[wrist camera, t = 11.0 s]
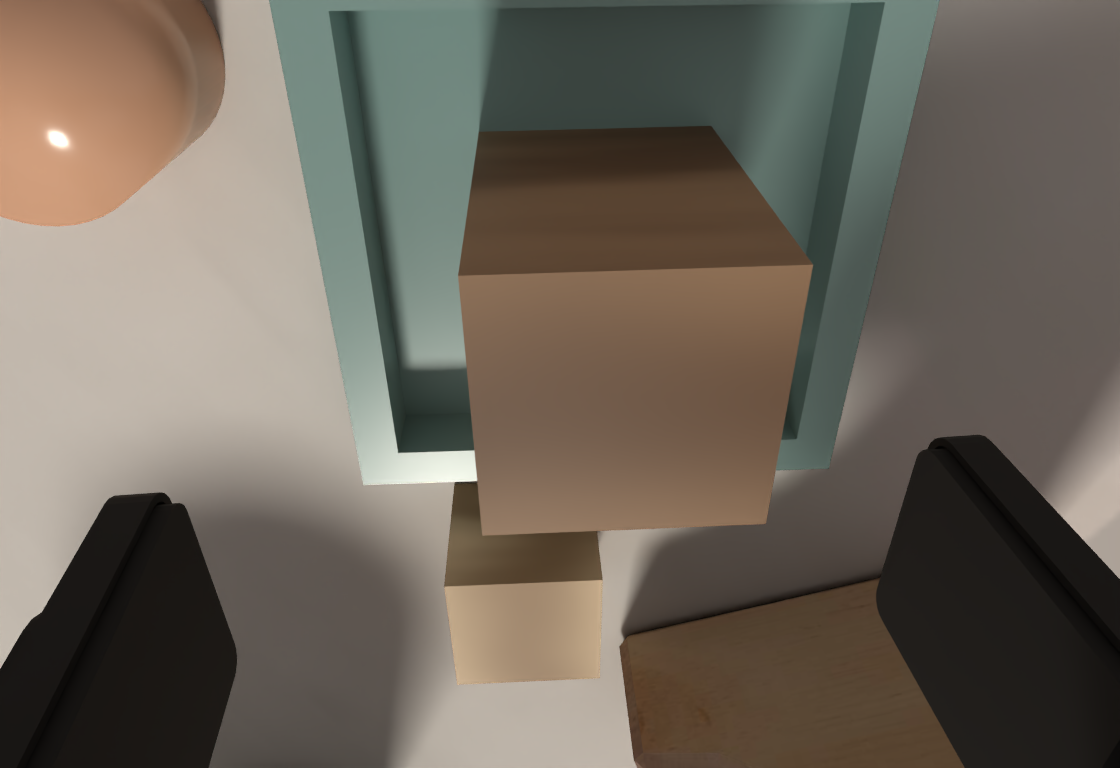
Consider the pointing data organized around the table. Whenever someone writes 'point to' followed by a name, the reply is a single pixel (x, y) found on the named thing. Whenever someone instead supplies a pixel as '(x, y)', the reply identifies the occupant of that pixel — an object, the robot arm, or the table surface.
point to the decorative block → (780, 690)
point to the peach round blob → (99, 100)
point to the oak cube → (521, 600)
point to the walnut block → (625, 331)
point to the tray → (580, 103)
